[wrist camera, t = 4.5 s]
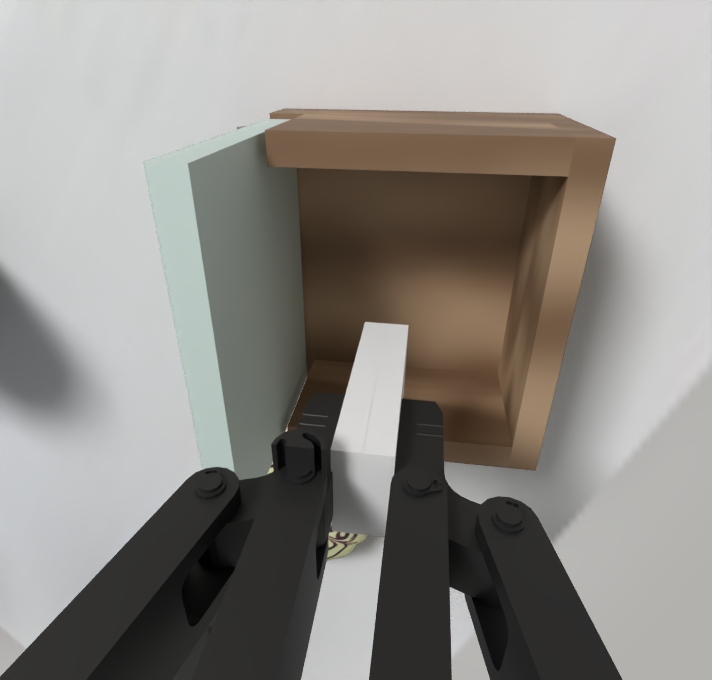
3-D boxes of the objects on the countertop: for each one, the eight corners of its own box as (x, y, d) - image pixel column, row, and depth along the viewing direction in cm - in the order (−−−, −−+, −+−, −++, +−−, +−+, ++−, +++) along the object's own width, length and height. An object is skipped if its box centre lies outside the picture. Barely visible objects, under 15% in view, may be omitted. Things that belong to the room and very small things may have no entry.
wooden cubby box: (511, 369, 30) (535, 470, 23) (298, 353, 31) (256, 442, 24) (558, 113, 23) (615, 138, 16) (284, 108, 25) (219, 128, 17)
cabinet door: (294, 119, 22) (187, 163, 13) (307, 376, 29) (243, 532, 19) (242, 118, 22) (99, 160, 13) (266, 373, 29) (184, 525, 20)
